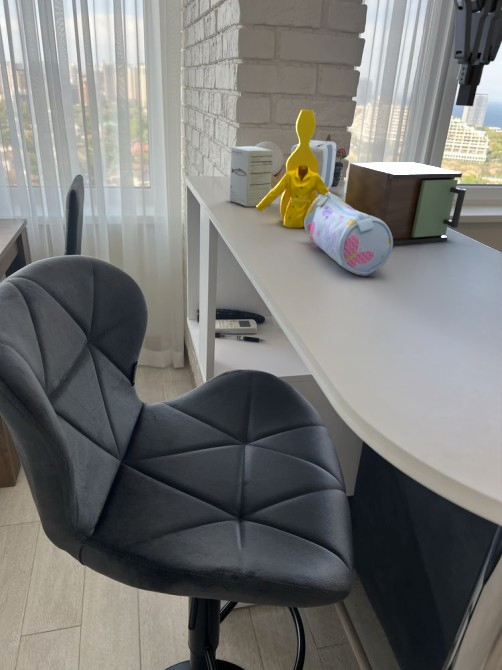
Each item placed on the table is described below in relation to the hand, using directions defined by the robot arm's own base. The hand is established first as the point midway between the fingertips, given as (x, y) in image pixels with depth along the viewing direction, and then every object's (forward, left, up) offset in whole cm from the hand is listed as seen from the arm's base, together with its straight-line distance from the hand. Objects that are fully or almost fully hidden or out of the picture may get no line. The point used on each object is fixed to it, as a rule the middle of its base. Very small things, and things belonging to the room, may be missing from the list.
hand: (464, 105), depth 91 cm
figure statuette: (+28, -2, -25) cm, 37 cm away
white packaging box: (+40, -20, -25) cm, 51 cm away
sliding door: (+2, +5, -23) cm, 24 cm away
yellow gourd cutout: (+25, -35, -25) cm, 50 cm away
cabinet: (+9, 0, -24) cm, 26 cm away
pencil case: (+20, +20, -25) cm, 37 cm away
